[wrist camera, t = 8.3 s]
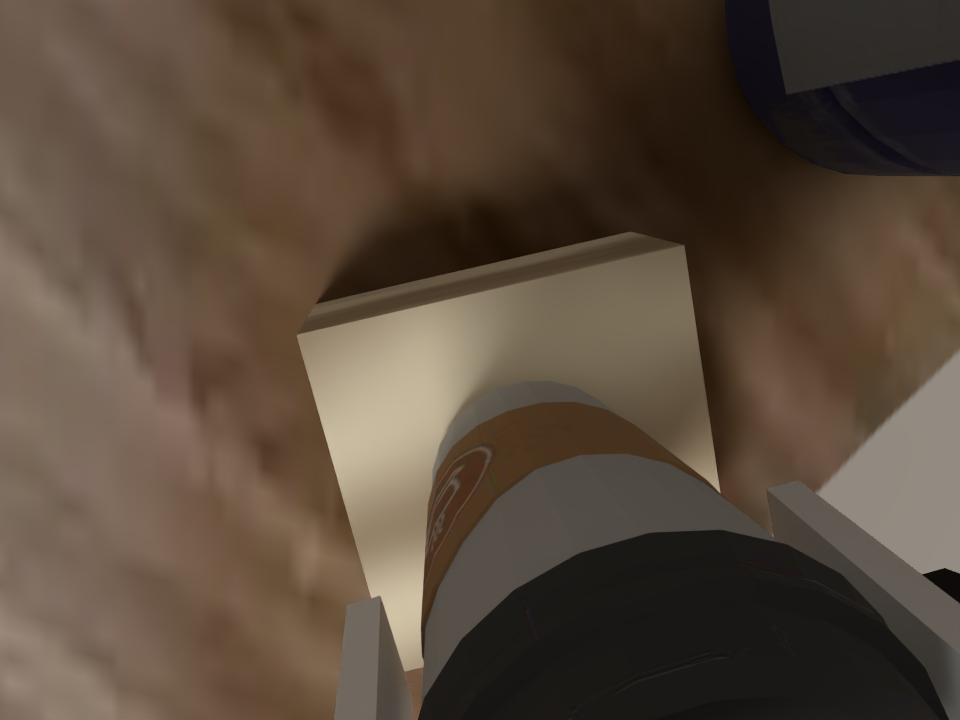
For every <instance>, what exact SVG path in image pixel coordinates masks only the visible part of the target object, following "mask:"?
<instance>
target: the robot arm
mask: <svg viewBox="0 0 960 720" xmlns="http://www.w3.org/2000/svg"><path fill="white" fill-rule="evenodd" d="M767 496H768V502H769V509H770V515H771V521H772V528H773V534H774V538H775V539H777V540H778V541H779V542H780V543H784V544H788V545H789V546H791V547H793V548H795V549H797V550H799V551H800V552H802V553H804V554H806V555H808V556H809V557H811V558H813V559H815V560H817V561H819V562H820V563H822V564H824V565H826V566H828V567H830V568H831V569H833V570H835V571H837V572H839V573H841V574H842V575H843V576H844V577H845V578H846V579H847V580H848V581H849V582H850V583H851V584H852V585H853V586H854V587H855V588H856V589H857V591H858V592H859V593H860V594H861V595H862V596H863V597H864V598H865V599H866V600H867V601H868V602H869V603H870V604H871V605H872V606H873V607H874V608H875V609H876V610H877V611H878V613H879V614H880V615H881V616H882V617H883V618H884V620H885V622H886V624H887V626H888V627H889V629H890V631H891V632H892V633H893V634H894V635H895V636H896V637H897V638H898V639H899V640H900V641H901V642H902V643H903V644H904V645H905V646H906V647H907V648H908V649H909V650H910V651H911V652H912V653H913V655H914V656H915V657H916V658H917V659H918V660H919V661H920V662H921V664H922V665H923V666H924V667H925V669H926V671H927V673H928V675H929V677H930V679H931V681H932V684H933V686H934V688H935V690H936V692H937V694H938V696H939V699H940V701H941V703H942V705H943V707H944V709H945V712H946V714H947V716H948V718H949V720H960V574H959V573H956V572H954V571H951V570H948V569H946V568H944V569H940V570H937V571H933V572H930V573H926V574H920V573H919V572H918V571H916V570H915V569H914V568H913V567H911V566H910V565H909V564H907V563H906V562H905V561H903V560H902V559H901V558H899V557H898V556H897V555H895V554H894V553H893V552H892V551H890V550H889V549H888V548H886V547H885V546H884V545H882V544H881V543H880V542H878V541H877V540H876V539H874V538H873V537H872V536H870V535H869V534H868V533H867V532H865V531H864V530H863V529H861V528H860V527H859V526H857V525H856V524H855V523H853V522H852V521H851V520H850V519H848V518H847V517H846V516H844V515H843V514H842V513H840V512H839V511H838V510H837V509H835V508H834V507H833V506H831V505H830V504H829V503H827V502H826V501H825V500H823V499H822V498H821V497H820V496H818V495H817V494H816V493H814V492H813V491H812V490H810V489H809V488H808V487H806V486H805V485H804V484H803V483H801V482H800V481H799V480H797V481H793V482H790V483H786V484H782V485H779V486H775V487H772V488H768V489H767ZM334 720H413V698H412V694H411V691H410V688H409V685H408V682H407V678H406V675H405V672H404V669H403V666H402V662H401V659H400V656H399V653H398V650H397V646H396V643H395V640H394V637H393V634H392V630H391V627H390V624H389V621H388V618H387V614H386V611H385V608H384V605H383V602H382V599H381V596H377V597H373V598H370V599H366V600H363V601H359V602H355V603H352V604H348V605H347V611H346V620H345V629H344V637H343V646H342V655H341V664H340V673H339V682H338V690H337V699H336V708H335V717H334Z"/></svg>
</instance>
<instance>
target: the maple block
mask: <svg viewBox="0 0 960 720" xmlns="http://www.w3.org/2000/svg"><path fill="white" fill-rule="evenodd" d="M297 338H298V342H299V345H300V349H301V352H302V356H303V359H304V363H305V366H306V370H307V373H308V377H309V380H310V384H311V387H312V391H313V394H314V398H315V401H316V405H317V408H318V412H319V415H320V419H321V422H322V426H323V429H324V433H325V437H326V440H327V444H328V447H329V451H330V454H331V458H332V461H333V465H334V468H335V472H336V475H337V479H338V482H339V486H340V489H341V493H342V496H343V500H344V503H345V507H346V510H347V514H348V517H349V521H350V524H351V528H352V532H353V535H354V539H355V542H356V546H357V549H358V553H359V556H360V560H361V563H362V567H363V570H364V574H365V577H366V581H367V584H368V588H369V591H370V595H371V598H373V597H377V596H381V599H382V602H383V605H384V608H385V611H386V614H387V618H388V621H389V624H390V627H391V630H392V634H393V637H394V640H395V643H396V646H397V650H398V653H399V656H400V659H401V662H402V666H403V669H404V672H405V671H409V670H413V669H417V668H421V667H424V660H423V658H422V647H421V614H422V597H423V580H424V563H425V546H426V529H427V512H428V501H429V497H430V494H431V490H432V472H433V467H434V463H435V460H436V456H437V453H438V449H439V446H440V444H441V442H442V440H443V438H444V437H445V435H446V433H447V432H448V430H449V428H450V427H451V425H452V423H453V422H454V421H455V420H456V419H457V418H458V417H459V416H460V415H461V414H462V413H463V412H464V411H465V410H466V409H467V408H468V407H469V406H470V405H471V404H472V403H473V402H475V401H476V400H478V399H480V398H481V397H483V396H485V395H487V394H488V393H490V392H492V391H494V390H495V389H498V388H501V387H505V386H508V385H512V384H516V383H519V382H523V381H553V382H557V383H561V384H565V385H569V386H573V387H577V388H578V389H580V390H582V391H584V392H586V393H587V394H589V395H591V396H593V397H595V398H596V399H598V400H600V401H601V402H602V403H603V404H605V405H606V406H607V407H608V408H610V409H611V410H612V411H614V412H615V413H616V414H617V415H619V416H620V417H622V418H623V419H625V420H627V421H629V422H631V423H632V424H634V425H636V426H637V427H638V428H640V429H641V430H642V431H644V432H645V433H646V434H648V435H649V436H650V437H651V438H653V439H654V440H655V441H657V442H658V443H659V444H661V445H662V446H663V447H665V448H666V449H667V450H668V451H670V452H671V453H672V454H674V455H675V456H676V457H678V458H679V459H680V460H681V461H683V462H684V463H685V464H687V465H688V466H689V467H691V468H692V469H693V470H695V471H696V472H697V473H698V474H700V475H701V476H702V477H704V478H705V479H706V480H708V481H709V482H710V483H711V484H712V485H713V486H714V487H715V488H716V489H717V490H718V491H719V493H720V488H719V481H718V474H717V467H716V460H715V453H714V446H713V439H712V433H711V426H710V419H709V412H708V405H707V398H706V391H705V384H704V377H703V370H702V364H701V357H700V350H699V343H698V336H697V329H696V322H695V315H694V308H693V302H692V295H691V288H690V281H689V274H688V267H687V260H686V253H685V246H684V245H682V244H678V243H674V242H670V241H666V240H662V239H658V238H654V237H650V236H646V235H642V234H638V233H634V232H626V233H622V234H618V235H613V236H609V237H604V238H600V239H596V240H591V241H587V242H583V243H578V244H574V245H570V246H565V247H561V248H557V249H552V250H548V251H544V252H539V253H535V254H531V255H526V256H522V257H517V258H513V259H509V260H504V261H500V262H496V263H491V264H487V265H483V266H478V267H474V268H470V269H465V270H461V271H457V272H452V273H448V274H444V275H439V276H435V277H430V278H426V279H422V280H417V281H413V282H409V283H404V284H400V285H396V286H391V287H387V288H383V289H378V290H374V291H370V292H365V293H361V294H357V295H352V296H348V297H343V298H339V299H335V300H330V301H326V302H322V303H317V304H315V306H314V308H313V309H312V311H311V312H310V314H309V316H308V317H307V319H306V320H305V322H304V324H303V325H302V327H301V329H300V330H299V332H298V333H297Z"/></svg>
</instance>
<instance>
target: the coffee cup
mask: <svg viewBox="0 0 960 720" xmlns="http://www.w3.org/2000/svg"><path fill="white" fill-rule="evenodd" d="M421 647H422V658H423V660H424V668H423V689H422V707H421V711H420V714H419V717H418V720H949V718H948V716H947V714H946V712H945V709H944V707H943V705H942V703H941V701H940V699H939V696H938V694H937V692H936V690H935V688H934V686H933V684H932V681H931V679H930V677H929V675H928V673H927V671H926V669H925V667H924V666H923V665H922V664H921V662H920V661H919V660H918V659H917V658H916V657H915V656H914V655H913V653H912V652H911V651H910V650H909V649H908V648H907V647H906V646H905V645H904V644H903V643H902V642H901V641H900V640H899V639H898V638H897V637H896V636H895V635H894V634H893V633H892V632H891V631H890V629H889V627H888V626H887V624H886V622H885V620H884V618H883V617H882V616H881V615H880V614H879V613H878V611H877V610H876V609H875V608H874V607H873V606H872V605H871V604H870V603H869V602H868V601H867V600H866V599H865V598H864V597H863V596H862V595H861V594H860V593H859V592H858V591H857V589H856V588H855V587H854V586H853V585H852V584H851V583H850V582H849V581H848V580H847V579H846V578H845V577H844V576H843V575H842V574H841V573H839V572H837V571H835V570H833V569H831V568H830V567H828V566H826V565H824V564H822V563H820V562H819V561H817V560H815V559H813V558H811V557H809V556H808V555H806V554H804V553H802V552H800V551H799V550H797V549H795V548H793V547H791V546H789V545H788V544H784V543H780V542H779V541H778V540H777V539H775V538H774V537H773V536H772V535H770V534H769V533H768V532H766V531H765V530H764V529H763V528H761V527H760V526H759V525H758V524H756V523H755V522H754V521H752V520H751V519H750V518H749V517H747V516H746V515H745V514H744V513H742V512H741V511H740V510H738V509H737V508H736V507H735V506H733V505H732V504H731V503H730V502H728V501H727V500H726V499H725V498H724V497H723V496H722V495H721V494H720V493H719V491H718V490H717V489H716V488H715V487H714V486H713V485H712V484H711V483H710V482H709V481H708V480H706V479H705V478H704V477H702V476H701V475H700V474H698V473H697V472H696V471H695V470H693V469H692V468H691V467H689V466H688V465H687V464H685V463H684V462H683V461H681V460H680V459H679V458H678V457H676V456H675V455H674V454H672V453H671V452H670V451H668V450H667V449H666V448H665V447H663V446H662V445H661V444H659V443H658V442H657V441H655V440H654V439H653V438H651V437H650V436H649V435H648V434H646V433H645V432H644V431H642V430H641V429H640V428H638V427H637V426H636V425H634V424H632V423H631V422H629V421H627V420H625V419H623V418H622V417H620V416H619V415H617V414H616V413H615V412H614V411H612V410H611V409H610V408H608V407H607V406H606V405H605V404H603V403H602V402H601V401H600V400H598V399H596V398H595V397H593V396H591V395H589V394H587V393H586V392H584V391H582V390H580V389H578V388H577V387H573V386H569V385H565V384H561V383H557V382H553V381H523V382H519V383H516V384H512V385H508V386H505V387H501V388H498V389H495V390H494V391H492V392H490V393H488V394H487V395H485V396H483V397H481V398H480V399H478V400H476V401H475V402H473V403H472V404H471V405H470V406H469V407H468V408H467V409H466V410H465V411H464V412H463V413H462V414H461V415H460V416H459V417H458V418H457V419H456V420H455V421H454V422H453V423H452V425H451V427H450V428H449V430H448V432H447V433H446V435H445V437H444V438H443V440H442V442H441V444H440V446H439V449H438V453H437V456H436V460H435V463H434V467H433V472H432V490H431V494H430V497H429V501H428V512H427V529H426V546H425V563H424V580H423V597H422V614H421Z"/></svg>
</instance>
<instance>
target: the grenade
mask: <svg viewBox="0 0 960 720" xmlns="http://www.w3.org/2000/svg"><path fill="white" fill-rule="evenodd" d="M725 11H726V23H727V35H728V47H729V50H730V54H731V57H732V60H733V64H734V67H735V71H736V74H737V77H738V81H739V84H740V87H741V88H742V90H743V92H744V94H745V95H746V97H747V99H748V101H749V103H750V104H751V106H752V108H753V110H754V111H755V113H756V115H757V117H758V118H759V120H760V121H761V122H762V123H763V124H764V125H765V126H766V127H767V128H768V129H769V130H770V131H771V132H772V133H773V134H774V136H775V137H776V138H777V139H778V140H779V141H780V142H781V143H782V144H783V145H784V146H786V147H788V148H789V149H791V150H792V151H794V152H795V153H797V154H798V155H800V156H802V157H803V158H805V159H806V160H808V161H809V162H811V163H813V164H816V165H819V166H822V167H825V168H829V169H832V170H835V171H838V172H841V173H844V174H858V175H875V176H960V0H725Z"/></svg>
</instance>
